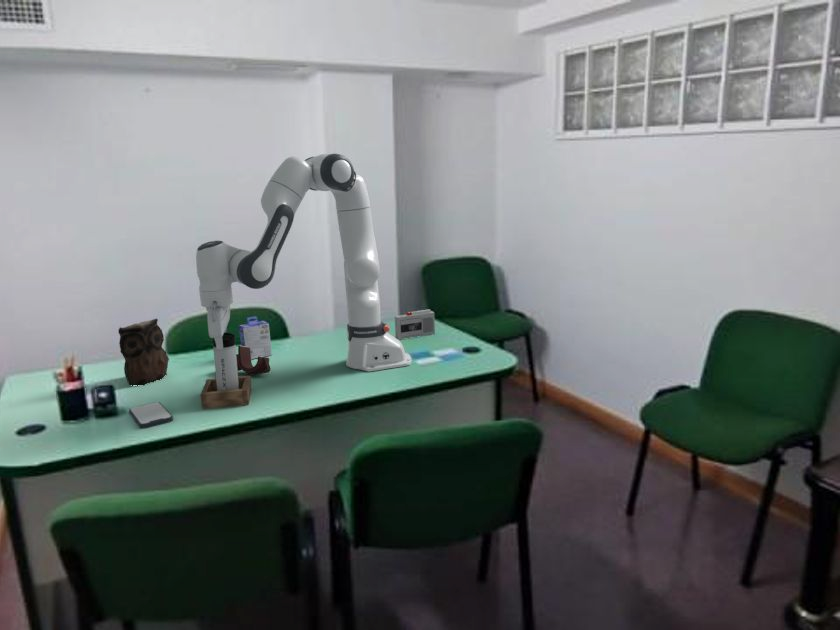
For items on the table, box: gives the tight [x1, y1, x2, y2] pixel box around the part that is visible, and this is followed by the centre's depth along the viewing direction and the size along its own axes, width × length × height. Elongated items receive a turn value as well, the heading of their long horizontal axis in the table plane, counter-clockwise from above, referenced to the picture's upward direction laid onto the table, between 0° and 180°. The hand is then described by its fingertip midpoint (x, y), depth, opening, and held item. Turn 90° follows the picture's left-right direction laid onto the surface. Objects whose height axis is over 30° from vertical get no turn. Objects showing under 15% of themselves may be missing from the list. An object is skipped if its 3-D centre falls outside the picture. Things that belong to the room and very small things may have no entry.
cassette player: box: [394, 308, 436, 340], centre depth 247 cm, size 16×3×10 cm, turn 114°
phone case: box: [128, 401, 174, 429], centre depth 179 cm, size 9×2×16 cm
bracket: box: [236, 344, 271, 376], centre depth 211 cm, size 6×17×10 cm, turn 78°
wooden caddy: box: [199, 375, 253, 410], centre depth 190 cm, size 13×16×12 cm
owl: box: [118, 318, 170, 387], centre depth 205 cm, size 13×13×20 cm
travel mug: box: [212, 332, 239, 391], centre depth 188 cm, size 6×7×20 cm
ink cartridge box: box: [238, 315, 273, 360], centre depth 228 cm, size 10×6×14 cm, turn 124°
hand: (221, 344), depth 186 cm, fingers open, 7 cm apart
